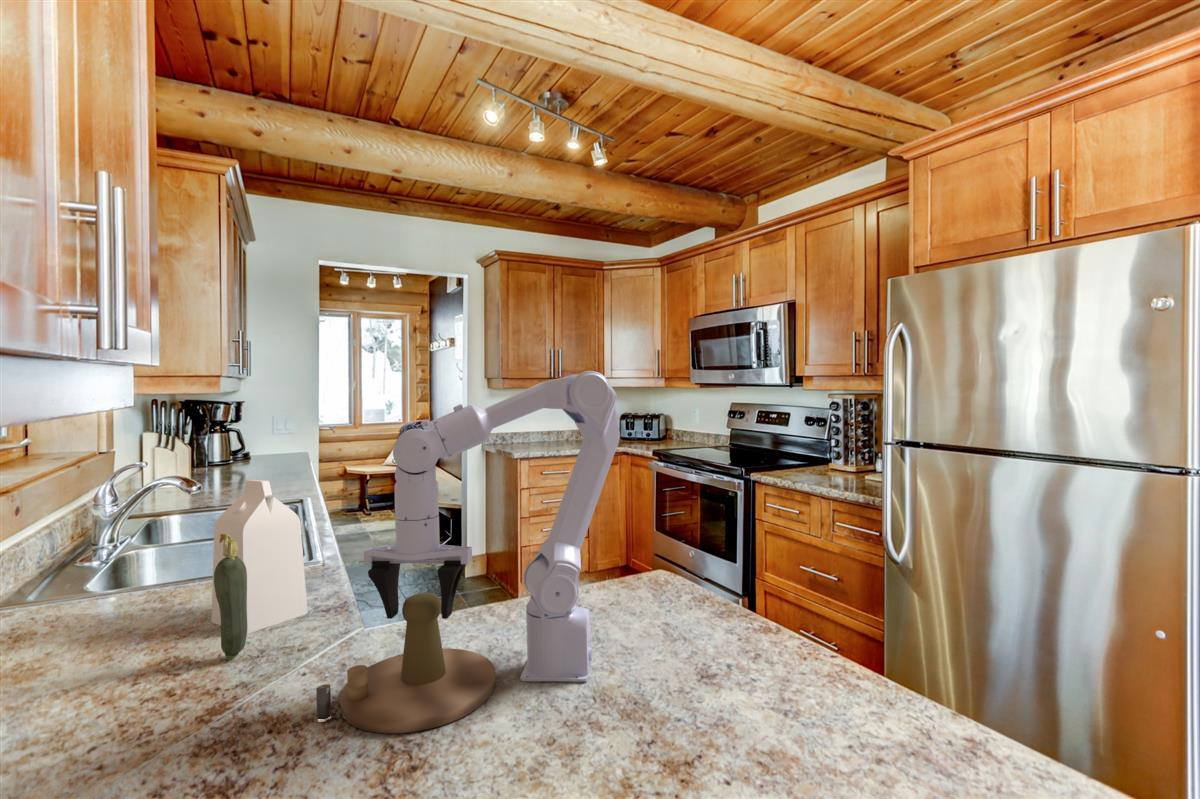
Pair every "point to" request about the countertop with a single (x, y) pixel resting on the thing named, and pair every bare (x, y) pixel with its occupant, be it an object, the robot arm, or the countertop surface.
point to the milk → (264, 556)
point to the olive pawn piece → (422, 640)
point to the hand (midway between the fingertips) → (419, 616)
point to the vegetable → (231, 598)
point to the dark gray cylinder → (323, 701)
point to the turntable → (416, 694)
